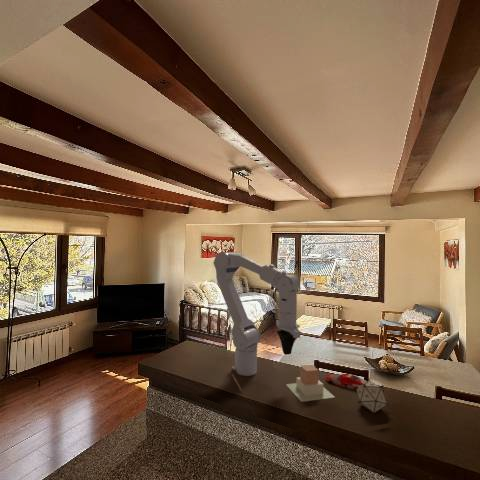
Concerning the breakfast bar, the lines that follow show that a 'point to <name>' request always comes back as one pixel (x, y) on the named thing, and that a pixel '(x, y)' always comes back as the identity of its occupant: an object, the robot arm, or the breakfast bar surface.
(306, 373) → the top brick
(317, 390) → the base brick
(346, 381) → the race car
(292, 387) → the build plate
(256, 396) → the breakfast bar surface
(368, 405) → the game die
